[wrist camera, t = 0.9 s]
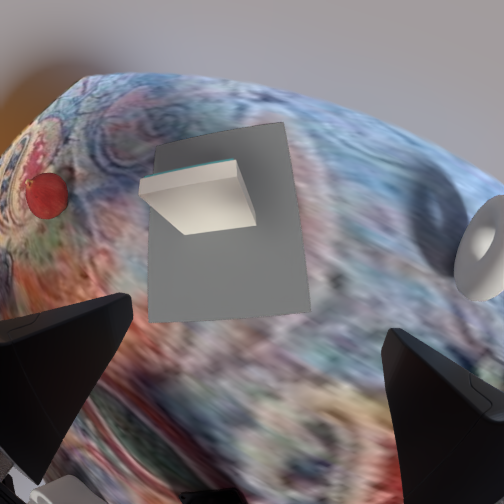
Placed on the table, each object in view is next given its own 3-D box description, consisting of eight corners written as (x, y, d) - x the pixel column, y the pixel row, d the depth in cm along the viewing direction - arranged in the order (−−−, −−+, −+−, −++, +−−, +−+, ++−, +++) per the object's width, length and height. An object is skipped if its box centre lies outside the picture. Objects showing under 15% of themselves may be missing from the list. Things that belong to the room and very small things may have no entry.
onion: (50, 232, 31) (8, 212, 23) (53, 196, 32) (16, 172, 25) (78, 219, 30) (35, 194, 23) (81, 181, 32) (43, 152, 24)
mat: (310, 311, 24) (311, 311, 23) (150, 322, 26) (148, 322, 25) (283, 124, 29) (283, 122, 29) (157, 147, 31) (156, 146, 31)
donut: (460, 313, 21) (526, 301, 12) (435, 297, 22) (498, 278, 12) (484, 228, 23) (538, 190, 13) (462, 212, 23) (513, 167, 14)
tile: (256, 225, 26) (237, 176, 17) (184, 235, 27) (138, 195, 18) (255, 209, 26) (235, 156, 18) (184, 219, 27) (140, 175, 19)
